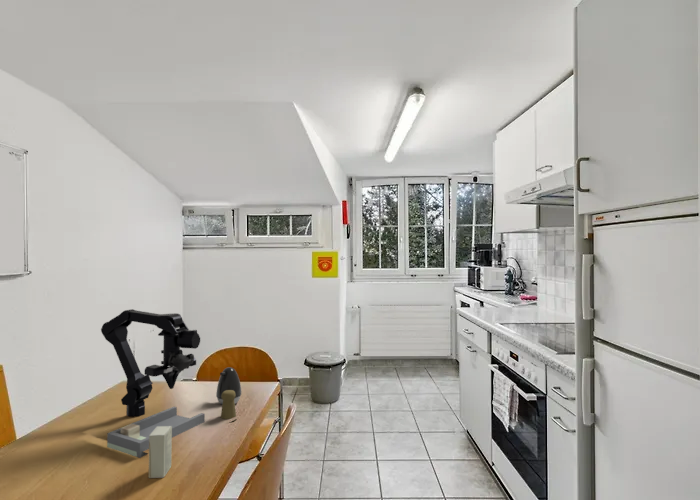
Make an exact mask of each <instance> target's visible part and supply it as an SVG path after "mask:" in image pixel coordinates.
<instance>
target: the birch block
mask: <svg viewBox="0 0 700 500" xmlns="http://www.w3.org/2000/svg"><path fill="white" fill-rule="evenodd" d="M129 424H130V425H129ZM129 424H127V425H125V427H124V426H122V427H120V428H121V434H122V435H125V436H129V437H132V438H135V439H138V438H140V426H139V425H135V424H132V423H129Z"/></svg>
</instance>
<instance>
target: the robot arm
mask: <svg viewBox="0 0 700 500" xmlns="http://www.w3.org/2000/svg"><path fill="white" fill-rule="evenodd" d="M132 322H134V323H140V324H146V325H152V326H155V327H156V328H158V329H161V331H160V332H158V334H157V336H159V337H163V349H162V350H161V351H160V352H161V354H162V355H163V357H162V359H163V360H162V361H160V364H161V365H158V364H152V365H148V366H146V367H145V368H144V374H143V373H142V372H141V370H140V368H139V365H138V363H137V361H136V358H135V356H134V353H133V350H132V349H131V347H130V344H129V341H128V334H129V331H128V328H129V326H131V324H132ZM100 332H101V334H102V336H103V338H104V339H105V340H106V342H108V343H109V344H110V345H112V346H113V348H114V350H115V353H116V356H117V358H118V360H119V363H120V365H121V367H122V370H123V373H124V374H125V377H126V387H125V388H126V394H125V395H124V396H123V397H122V398H121V401H120V402H121V404H122V405H123V406H126V410H125V411H126V413H125V414H126V416H127V417H129V418H132V417H134V418H135V417H136V418H137V417H138V418H139V417H142V416H144V415H145V414H146V405H145V402H146V401H145V400H146V399H149V396H150V394H151V393H152V390H153V384H154V383H153V382H152V381H151V377H159V376H162V377H163V378H164V381H165V382H166V384H167V387H168V388H169V390H170V389H171V390H172V389H174V387H175V384H176V382H177V379H178V377H179V375H180V374H181V373H182V372H184V370H187V369H190V367H194V366H197V359H196V357H195V355H194V354H193V353H188V354H183V353H184V352H183V349H197V348H199V346H200V344H201V337H200V334H199V332H198V330H197V329H192V330H191V329H189V328H188V326H187V324H186V323H185V321H184V319H183V317H182V315H181V314H179V313H162V314H161V313H155V312H148V311H140V310H135V309H126V310H123V311H122V312H121V313H119V315H116V316H114V317H113V318H112V319H110V320H109V321H106V322H104V323H103V324H102V327H101V328H100ZM150 376H151V377H150Z"/></svg>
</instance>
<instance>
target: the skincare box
mask: <svg viewBox="0 0 700 500" xmlns="http://www.w3.org/2000/svg"><path fill="white" fill-rule="evenodd" d="M172 439H173V437H172V426H157V427H156V428H155V429H154V430H153V431H152V433H151V434H150V435H149V449H148V479H156V478H158V479H161V478H163V479H164V478H165V476H167V473H168V472H169V471H170V470H171V467H172V449H173V448H172V442H173V441H172Z"/></svg>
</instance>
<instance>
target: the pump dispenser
mask: <svg viewBox="0 0 700 500" xmlns="http://www.w3.org/2000/svg"><path fill="white" fill-rule="evenodd" d="M219 375H220V376H219V379H218V382H217V387H216V392H215V394H216V398H217V399H216V400H217V402H218V403H219V404H220V405H222V404H223V400H222V398H221V395H222V393H223V392H224V391H226V390H233V391H235V394H236V396H235V399H234V403H235V405H236V404H237V403H238V402H239V400H240V398H241V395H242V386H241V381H240V378H239V374H238V373H237V371H236V369H235V368H233V367H231V366H230V367H229V366H228V367H226V368H224V369H223V371H222V372H220V373H219Z"/></svg>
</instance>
